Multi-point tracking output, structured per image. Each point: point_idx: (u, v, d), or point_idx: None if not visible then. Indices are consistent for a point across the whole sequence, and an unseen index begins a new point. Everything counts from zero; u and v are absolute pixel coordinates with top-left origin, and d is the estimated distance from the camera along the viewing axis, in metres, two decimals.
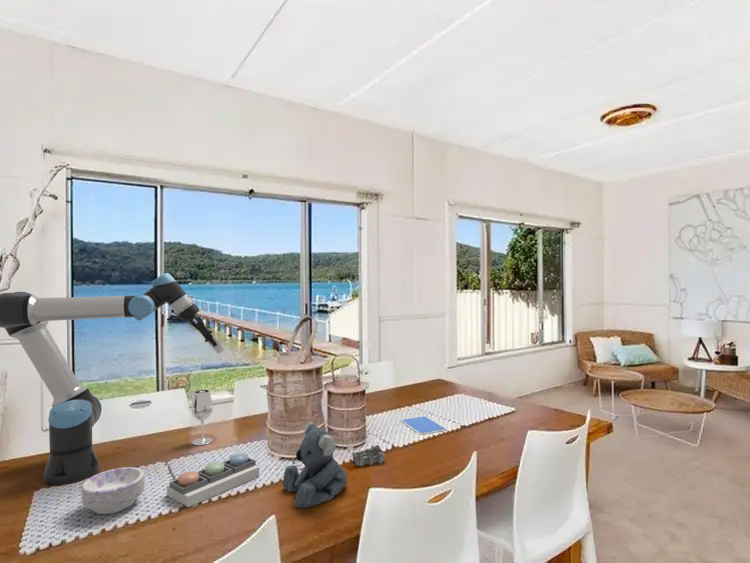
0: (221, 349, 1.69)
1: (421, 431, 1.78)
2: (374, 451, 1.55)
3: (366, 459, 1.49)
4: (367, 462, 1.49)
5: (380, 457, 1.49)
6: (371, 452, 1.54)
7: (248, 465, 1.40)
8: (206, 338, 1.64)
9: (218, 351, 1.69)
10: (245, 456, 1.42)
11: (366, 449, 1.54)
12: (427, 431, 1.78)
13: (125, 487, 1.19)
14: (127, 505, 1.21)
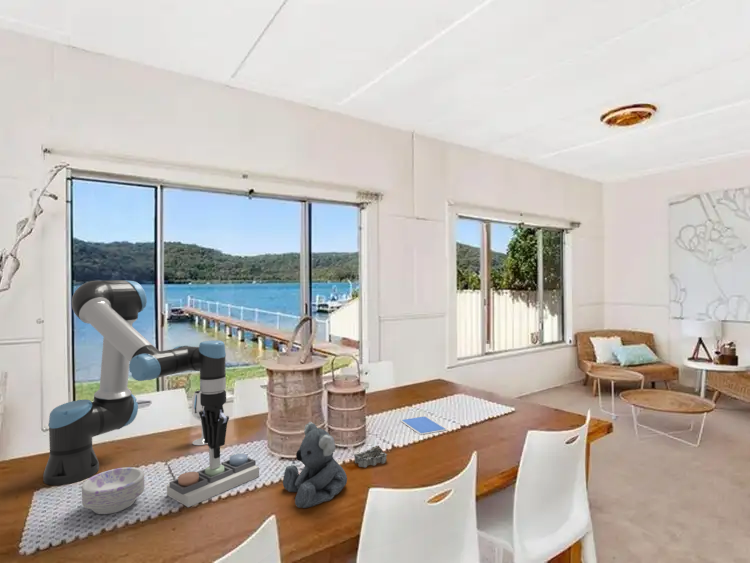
0: (218, 464, 1.35)
1: (421, 431, 1.78)
2: (374, 452, 1.55)
3: (369, 460, 1.48)
4: (370, 463, 1.48)
5: (383, 457, 1.49)
6: (372, 453, 1.53)
7: (248, 465, 1.40)
8: (218, 445, 1.32)
9: (214, 466, 1.34)
10: (245, 456, 1.42)
11: (367, 450, 1.53)
12: (427, 431, 1.78)
13: (125, 487, 1.19)
14: (127, 505, 1.21)
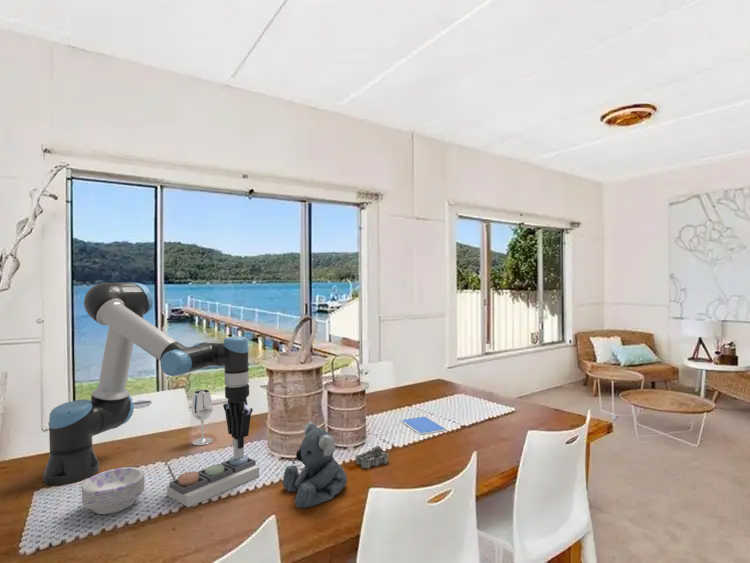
0: (241, 454, 1.42)
1: (421, 431, 1.78)
2: (375, 452, 1.54)
3: (372, 460, 1.47)
4: (373, 464, 1.47)
5: (385, 457, 1.49)
6: (373, 454, 1.53)
7: (248, 465, 1.40)
8: (242, 435, 1.39)
9: (238, 455, 1.41)
10: (245, 457, 1.42)
11: (368, 451, 1.53)
12: (427, 431, 1.78)
13: (125, 487, 1.19)
14: (127, 505, 1.21)
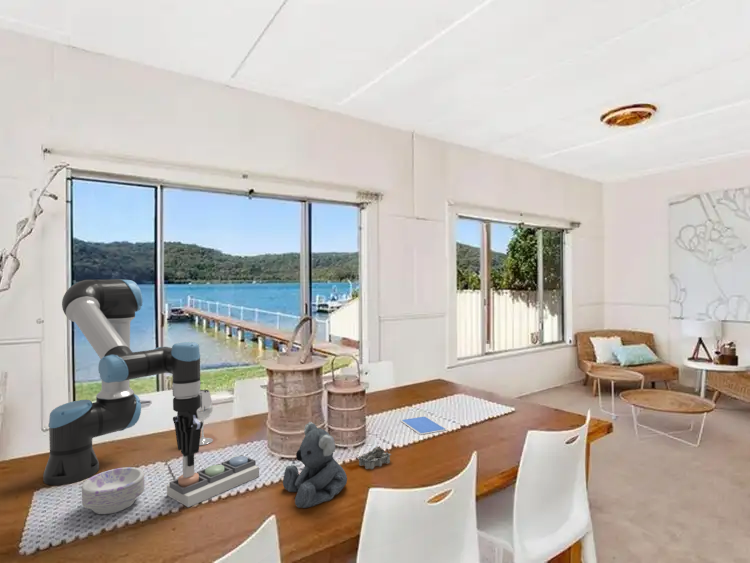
0: (192, 473, 1.28)
1: (421, 431, 1.78)
2: (376, 453, 1.54)
3: (375, 461, 1.47)
4: (376, 464, 1.47)
5: (388, 457, 1.49)
6: (374, 454, 1.52)
7: (248, 465, 1.40)
8: (191, 452, 1.25)
9: (188, 474, 1.27)
10: (245, 458, 1.42)
11: (369, 452, 1.52)
12: (427, 431, 1.78)
13: (125, 487, 1.19)
14: (127, 505, 1.21)
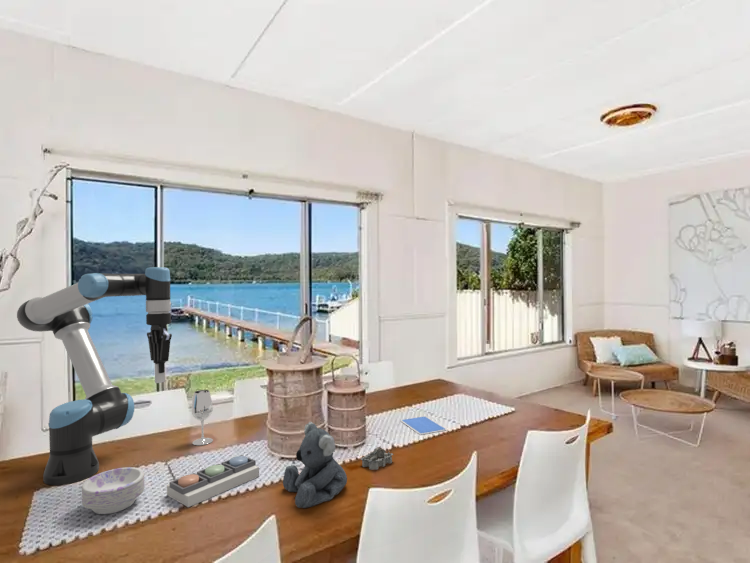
0: (163, 379, 1.48)
1: (421, 431, 1.78)
2: (376, 453, 1.54)
3: (379, 461, 1.46)
4: (380, 464, 1.46)
5: (390, 457, 1.49)
6: (375, 455, 1.52)
7: (248, 465, 1.40)
8: (162, 360, 1.45)
9: (159, 380, 1.47)
10: (245, 458, 1.42)
11: (371, 452, 1.51)
12: (427, 431, 1.78)
13: (125, 487, 1.19)
14: (127, 505, 1.21)
